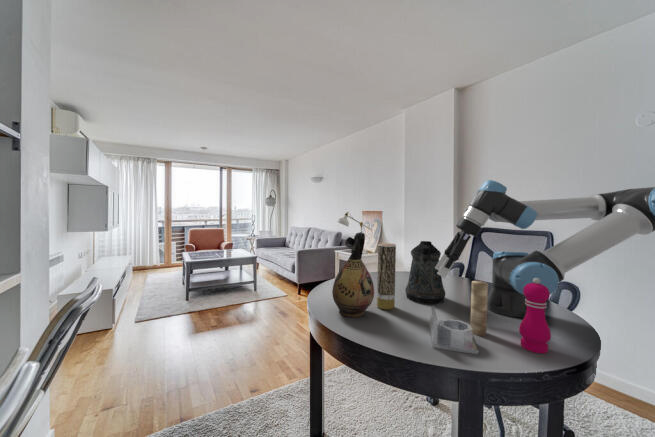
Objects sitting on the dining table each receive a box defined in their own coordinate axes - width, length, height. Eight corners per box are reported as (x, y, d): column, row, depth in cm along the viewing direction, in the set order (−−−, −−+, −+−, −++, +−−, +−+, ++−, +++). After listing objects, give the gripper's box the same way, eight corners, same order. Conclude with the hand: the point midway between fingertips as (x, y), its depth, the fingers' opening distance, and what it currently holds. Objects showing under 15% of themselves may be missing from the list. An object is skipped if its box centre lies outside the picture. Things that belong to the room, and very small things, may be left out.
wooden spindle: (484, 330, 90) (485, 281, 90) (487, 336, 86) (489, 285, 85) (468, 328, 92) (470, 280, 91) (471, 334, 87) (473, 283, 87)
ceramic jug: (364, 324, 94) (366, 235, 93) (324, 315, 102) (325, 232, 101) (380, 308, 109) (382, 232, 108) (345, 302, 116) (346, 230, 115)
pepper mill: (512, 342, 83) (515, 274, 82) (535, 341, 83) (538, 274, 83) (532, 355, 75) (535, 281, 75) (557, 354, 76) (560, 281, 75)
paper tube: (393, 304, 114) (394, 243, 113) (395, 310, 107) (397, 245, 106) (376, 304, 115) (377, 243, 114) (377, 310, 108) (378, 245, 107)
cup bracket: (469, 335, 87) (470, 309, 87) (478, 354, 75) (479, 325, 75) (430, 330, 90) (430, 305, 90) (432, 347, 79) (433, 319, 78)
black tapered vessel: (433, 292, 132) (434, 239, 131) (457, 306, 113) (459, 244, 112) (399, 293, 130) (400, 239, 129) (418, 307, 111) (419, 244, 110)
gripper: (457, 217, 111) (428, 262, 114) (467, 215, 88) (431, 272, 90) (475, 227, 109) (445, 273, 112) (491, 227, 86) (453, 285, 88)
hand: (439, 272), depth 101 cm, fingers open, 13 cm apart
